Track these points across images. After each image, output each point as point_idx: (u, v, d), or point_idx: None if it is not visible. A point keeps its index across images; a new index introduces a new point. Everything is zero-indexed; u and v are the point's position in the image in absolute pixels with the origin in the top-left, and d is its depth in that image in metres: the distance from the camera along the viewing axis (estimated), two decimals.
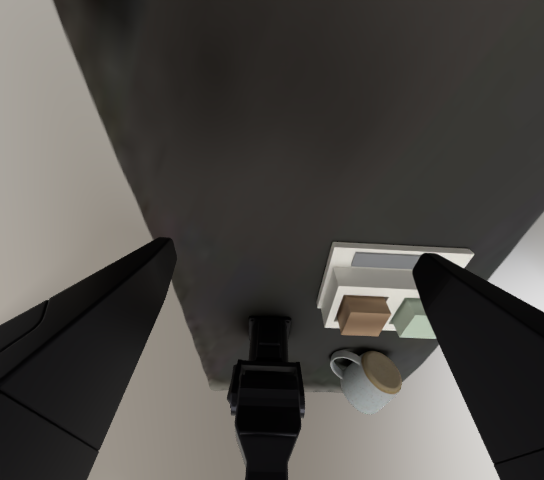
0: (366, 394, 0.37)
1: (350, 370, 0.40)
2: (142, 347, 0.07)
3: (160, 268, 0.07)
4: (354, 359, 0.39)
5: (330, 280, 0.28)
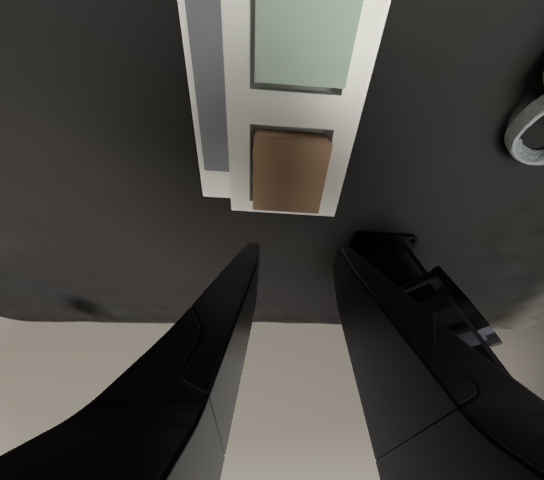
0: None
1: None
2: (245, 352, 0.07)
3: (257, 273, 0.07)
4: (533, 116, 0.15)
5: None
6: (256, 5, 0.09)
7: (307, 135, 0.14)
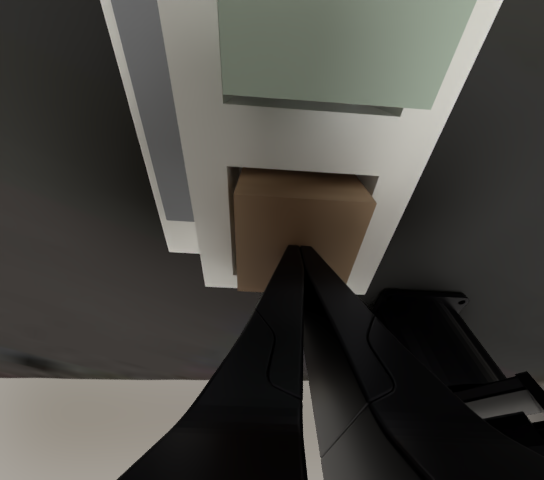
0: None
1: None
2: None
3: None
4: None
5: None
6: None
7: (326, 177, 0.08)
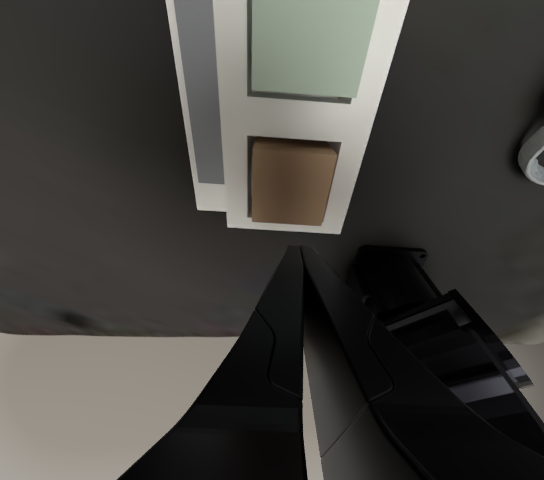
0: None
1: None
2: None
3: None
4: None
5: None
6: (253, 0, 0.08)
7: (309, 144, 0.13)
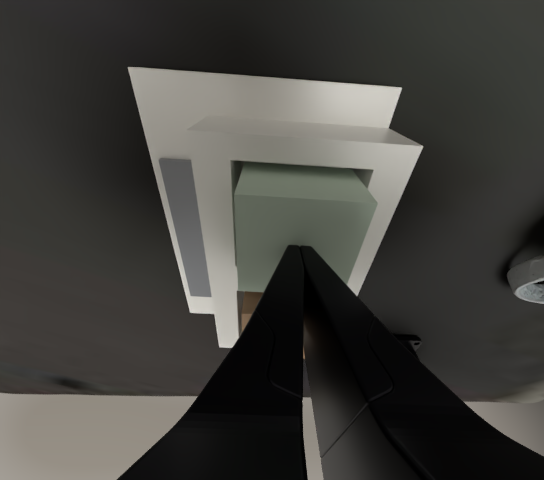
0: None
1: None
2: None
3: None
4: (538, 276, 0.14)
5: None
6: (237, 240, 0.08)
7: None
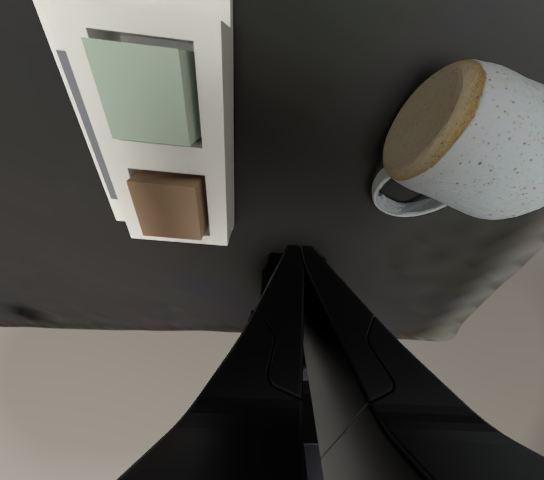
0: (453, 191, 0.14)
1: None
2: None
3: None
4: (379, 182, 0.18)
5: None
6: (96, 84, 0.12)
7: (185, 174, 0.16)
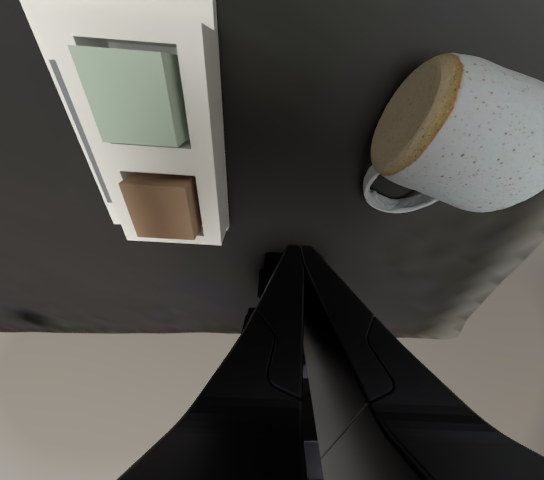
0: (440, 185, 0.14)
1: None
2: None
3: None
4: (369, 178, 0.18)
5: None
6: (84, 89, 0.12)
7: (176, 175, 0.17)
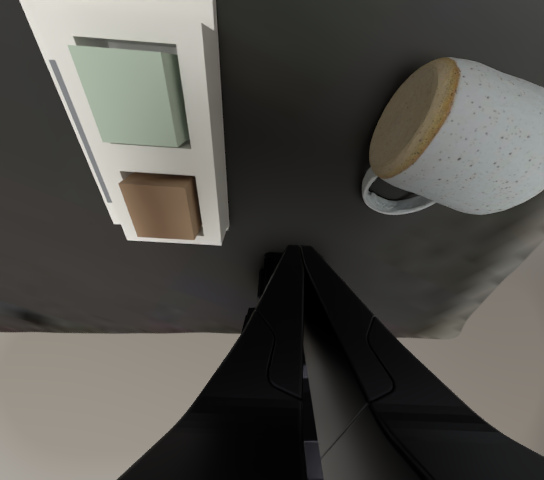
0: (437, 187, 0.14)
1: None
2: None
3: None
4: (368, 180, 0.18)
5: None
6: (84, 89, 0.12)
7: (176, 175, 0.17)
